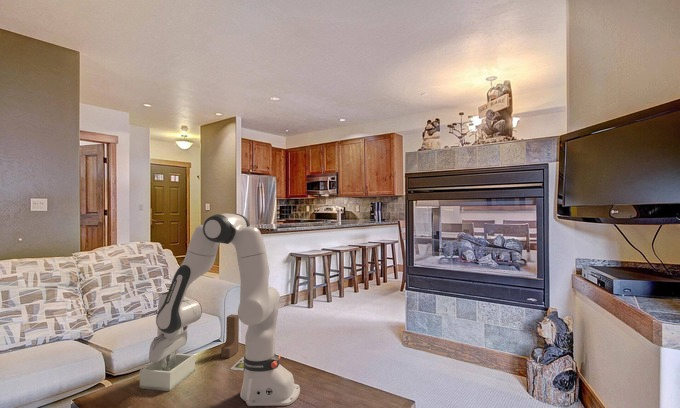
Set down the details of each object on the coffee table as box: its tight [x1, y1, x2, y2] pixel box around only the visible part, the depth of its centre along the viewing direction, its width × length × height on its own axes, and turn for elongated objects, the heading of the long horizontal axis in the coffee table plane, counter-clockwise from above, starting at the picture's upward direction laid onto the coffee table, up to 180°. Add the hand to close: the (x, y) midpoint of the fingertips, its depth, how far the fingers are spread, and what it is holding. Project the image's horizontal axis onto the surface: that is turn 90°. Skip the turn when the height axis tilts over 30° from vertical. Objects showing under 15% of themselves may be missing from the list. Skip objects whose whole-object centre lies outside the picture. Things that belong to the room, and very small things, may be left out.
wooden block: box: [220, 313, 240, 359], centre depth 170 cm, size 9×4×18 cm, turn 168°
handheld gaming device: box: [230, 355, 245, 372], centre depth 160 cm, size 9×1×15 cm
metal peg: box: [162, 351, 175, 371], centre depth 144 cm, size 4×4×9 cm
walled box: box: [139, 353, 196, 392], centre depth 144 cm, size 13×17×7 cm
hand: (168, 363), depth 144 cm, fingers closed on metal peg, 3 cm apart
